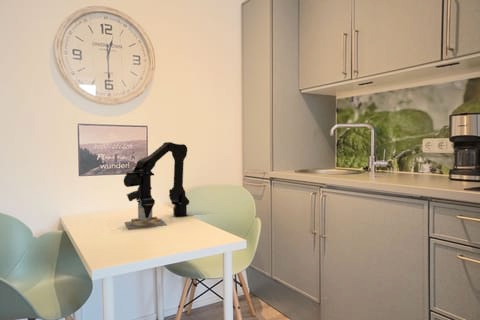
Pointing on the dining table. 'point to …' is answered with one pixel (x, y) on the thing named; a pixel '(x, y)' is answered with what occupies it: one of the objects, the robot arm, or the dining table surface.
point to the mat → (130, 226)
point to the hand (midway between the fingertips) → (145, 216)
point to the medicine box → (142, 213)
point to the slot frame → (149, 222)
